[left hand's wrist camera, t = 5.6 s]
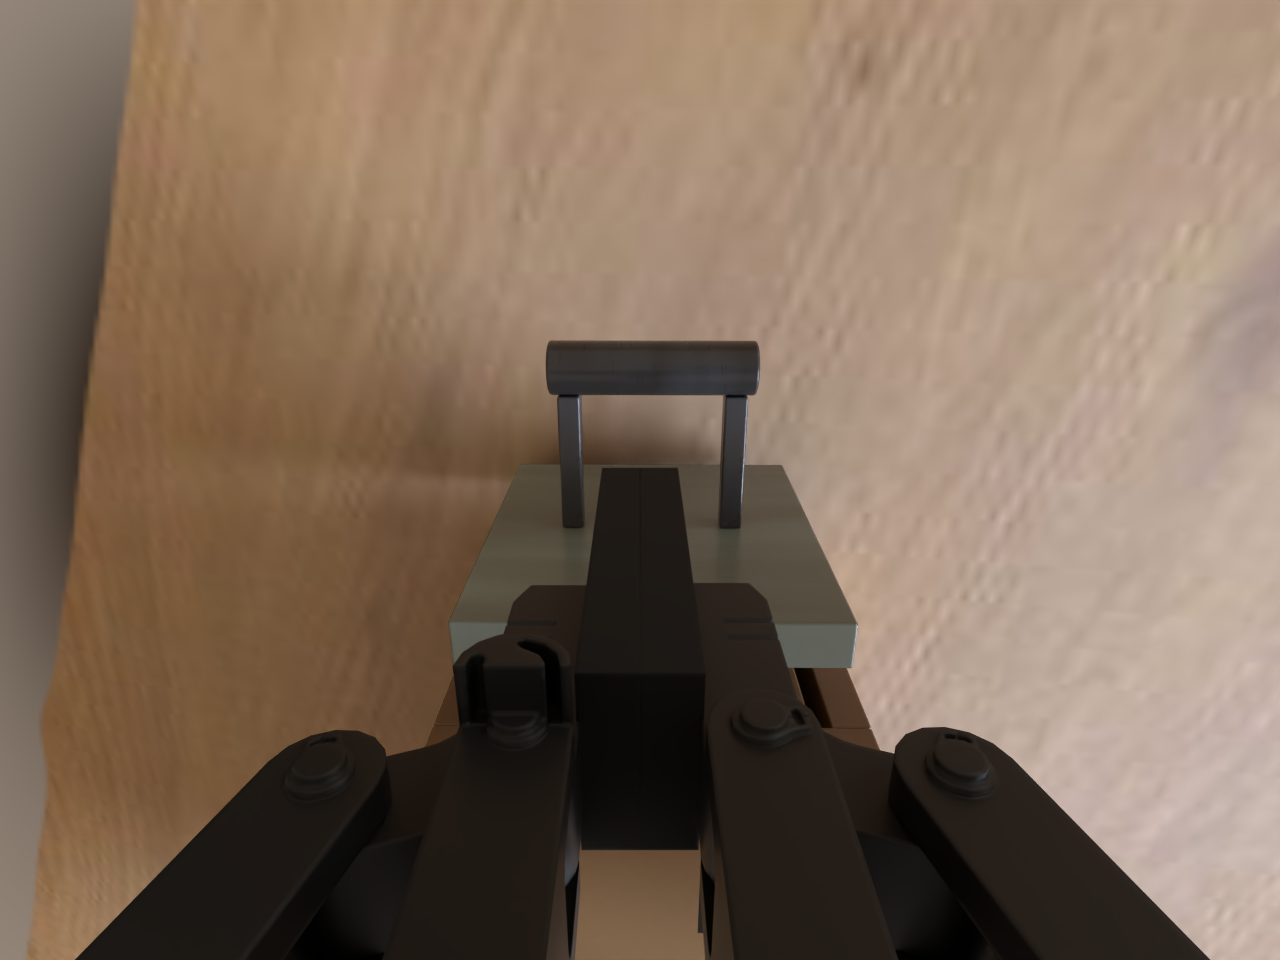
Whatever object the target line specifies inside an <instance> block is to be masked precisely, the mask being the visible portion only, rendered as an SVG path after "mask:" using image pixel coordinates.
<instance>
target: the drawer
mask: <svg viewBox="0 0 1280 960" xmlns="http://www.w3.org/2000/svg"><path fill="white" fill-rule="evenodd" d="M759 377H760V352H759V346H758V343H757V342H756V341H549V342H548V345H547V350H546V380H547V387H548V391H549V393H550V394H552V395H558V398H557V410H558V433H559V455H560V464H521V465H520V466H519V468H518V470H517V472H516V474H515V477H514V479H513V481H512V483H511V485H510V488H509V490H508V492H507V494H506V496H505V499H504V501H503V503H502V505H501V507H500V510H499V512H498V514H497V516H496V518H495V521H494V523H493V525H492V527H491V529H490V532H489V534H488V536H487V538H486V540H485V543H484V545H483V547H482V549H481V551H480V554H479V556H478V558H477V560H476V562H475V565H474V567H473V569H472V571H471V573H470V576H469V578H468V580H467V582H466V584H465V587H464V589H463V591H462V593H461V595H460V598H459V600H458V602H457V604H456V606H455V609H454V611H453V613H452V615H451V617H450V620H449V622H448V624H449V633H450V642H451V650H452V659H453V664H454V663H455V662H456V661H457V659H458V658H459V656H460V655H461V654H462V652H464V651H465V650H467V649H468V648H470V647H471V646H473V645H474V644H476V643H477V642H479V641H482V640H485V639H488V638H491V637H494V636H497V635H501V634H504V630H505V627H506V626H507V621H508V617H509V614H510V611H511V607H512V604H513V602H514V601H515V600H516V599H517V598H518V597H519V596H520V595H521V594H522V593H523V592H524V591H525V590H526V589H528V588H529V587H530V586H531V585H586V583H587V576H588V568H589V561H590V554H591V546H592V539H593V531H594V524H595V516H596V509H597V502H598V494H599V487H600V479H601V472H602V468H678V472H679V479H680V487H681V494H682V502H683V509H684V516H685V524H686V531H687V539H688V546H689V554H690V561H691V568H692V576H693V583H750V584H751V585H752V586H753V587H754V588H755V589H756V590H757V591H758V592H759V593H760V594H761V595H762V596H764V597H765V598H766V599H767V601H768V605H769V608H770V611H771V614H772V618H773V623H774V624H775V627H776V631H777V634H778V640H780V644H781V647H782V650H783V653H784V657H785V660H786V663H787V666H788V670H789V673H790V676H791V680H792V683H793V686H794V689H795V693H796V696H797V699H798V700H799V701H800V702H802V703H803V704H804V705H805V703H804V700H803V697H802V693H801V690H800V687H799V683H798V680H797V677H796V673H795V670H794V668H852V666H853V659H854V651H855V644H856V636H857V628H858V624H857V621H856V619H855V617H854V615H853V613H852V611H851V609H850V607H849V605H848V602H847V600H846V598H845V596H844V594H843V592H842V590H841V588H840V586H839V584H838V581H837V579H836V577H835V575H834V573H833V571H832V569H831V567H830V565H829V563H828V560H827V558H826V556H825V554H824V552H823V550H822V548H821V546H820V544H819V542H818V540H817V537H816V535H815V533H814V531H813V529H812V527H811V525H810V523H809V521H808V519H807V516H806V514H805V512H804V510H803V508H802V506H801V504H800V502H799V500H798V498H797V495H796V493H795V491H794V489H793V487H792V485H791V483H790V481H789V479H788V477H787V475H786V472H785V470H784V468H783V466H782V465H744V463H745V445H746V428H747V410H748V397H747V395H755V394H756V392H757V390H758V385H759ZM581 395H723V414H722V437H721V460H720V465H584V464H583V432H582V400H581Z"/></svg>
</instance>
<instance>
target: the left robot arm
mask: <svg viewBox="0 0 1280 960" xmlns="http://www.w3.org/2000/svg"><path fill="white" fill-rule="evenodd" d="M453 673H454V682H455V690H456V699H457V708H458V716H459V728H458V731H457V733H456V734H455V735H453V736H451V737H449V738H447V739H445V740H443V741H441V742H439V743H437V744H433V745H430V746H427V747H424V748H421V749H416V750H412V751H408V752H404V753H400V754H395V755H391V756H387V757H386V753H385V749H384V748H383V747H382V745H381V744H380V743H379V742H378V741H377V739H376V738H375V737H372V736H370V735H367V734H365V733H362V732H359V731H346V730H334V731H330V732H325V733H321V734H316V735H312V736H309V737H307V738H305V739H303V740H301V741H299V742H296V743H294V744H292V745H290V746H288V747H287V748H285V749H284V750H283V751H281V752H280V753H279V754H278V755H276V756H275V757H274V758H273V759H271V760H270V761H269V762H268V763H267V764H266V765H265V766H264V767H263V768H262V769H261V770H260V771H259V772H258V773H257V774H256V775H255V776H254V777H253V778H252V779H251V780H250V781H249V782H248V783H247V784H246V785H245V786H244V787H243V788H242V789H241V790H240V791H239V792H238V793H237V794H236V795H235V796H234V797H233V799H232V800H231V801H230V802H229V803H228V804H227V805H226V806H225V807H224V808H223V809H222V810H221V811H220V812H219V813H218V814H217V815H216V816H215V817H214V818H213V819H212V820H211V821H210V822H209V823H208V824H207V825H206V826H205V827H204V828H203V829H202V830H201V831H200V832H199V833H198V834H197V835H196V836H195V837H194V838H193V839H192V841H191V842H190V843H189V844H188V845H187V846H186V847H185V848H184V849H183V850H182V851H181V852H180V853H179V854H178V855H177V856H176V857H175V858H174V859H173V860H172V861H171V862H170V863H169V864H168V865H167V866H166V867H165V868H164V869H163V870H162V871H161V872H160V873H159V874H158V875H157V876H156V877H155V878H154V879H153V880H152V881H151V883H150V884H149V885H148V886H147V887H146V888H145V889H144V890H143V891H142V892H141V893H140V894H139V895H138V896H137V897H136V898H135V899H134V900H133V901H132V902H131V903H130V904H129V905H128V906H127V907H126V908H125V909H124V910H123V911H122V912H121V913H120V914H119V915H118V916H117V917H116V918H115V919H114V920H113V921H112V922H111V923H110V925H109V926H108V927H107V928H106V929H105V930H104V931H103V932H102V933H101V934H100V935H99V936H98V937H97V938H96V939H95V940H94V941H93V942H92V943H91V944H90V945H89V946H88V947H87V948H86V949H85V950H84V951H83V952H82V953H81V954H80V955H79V956H78V957H77V958H76V959H75V960H575V951H576V939H577V927H578V914H579V902H580V890H581V888H580V864H579V856H580V845H581V850H699V842H700V853H701V864H700V888H699V912H698V933H703V938H704V950H705V960H1210V959H1209V958H1208V957H1207V956H1206V955H1205V954H1204V953H1203V952H1202V951H1201V950H1200V949H1199V948H1198V947H1197V946H1196V945H1195V944H1194V943H1193V942H1192V941H1191V940H1190V939H1189V938H1188V937H1187V936H1186V935H1185V934H1184V933H1183V932H1182V931H1181V930H1180V929H1179V928H1178V927H1177V926H1176V925H1175V923H1174V922H1173V921H1172V920H1171V919H1170V918H1169V917H1168V916H1167V915H1166V914H1165V913H1164V912H1163V911H1162V910H1161V909H1160V908H1159V907H1158V906H1157V905H1156V904H1155V903H1154V902H1153V901H1152V900H1151V899H1150V898H1149V897H1148V896H1147V895H1146V894H1145V893H1144V892H1143V891H1142V890H1141V889H1140V888H1139V887H1138V886H1137V885H1136V884H1135V883H1134V882H1133V881H1132V880H1131V879H1130V878H1129V877H1128V876H1127V875H1126V874H1125V873H1124V872H1123V871H1122V870H1121V869H1120V868H1119V867H1118V866H1117V864H1116V863H1115V862H1114V861H1113V860H1112V859H1111V858H1110V857H1109V856H1108V855H1107V854H1106V853H1105V852H1104V851H1103V850H1102V849H1101V848H1100V847H1099V846H1098V845H1097V844H1096V843H1095V842H1094V841H1093V840H1092V839H1091V838H1090V837H1089V836H1088V835H1087V834H1086V833H1085V832H1084V831H1083V830H1082V829H1081V828H1080V827H1079V826H1078V825H1077V824H1076V823H1075V822H1074V821H1073V820H1072V819H1071V818H1070V817H1069V816H1068V815H1067V814H1066V813H1065V812H1064V811H1063V810H1062V809H1061V808H1060V807H1059V805H1058V804H1057V803H1056V802H1055V801H1054V800H1053V799H1052V798H1051V797H1050V796H1049V795H1048V794H1047V793H1046V792H1045V791H1044V790H1043V789H1042V788H1041V787H1040V786H1039V785H1038V784H1037V783H1036V782H1035V781H1034V780H1033V779H1032V778H1031V777H1030V776H1029V775H1028V774H1027V773H1026V772H1025V771H1024V770H1023V769H1022V768H1021V767H1020V766H1019V765H1018V764H1017V763H1016V762H1015V761H1014V760H1013V759H1012V758H1011V757H1010V756H1008V755H1007V754H1006V753H1005V752H1003V751H1002V750H1001V749H999V748H998V747H997V746H996V745H994V744H993V743H991V742H989V741H987V740H984V739H982V738H980V737H978V736H976V735H974V734H971V733H969V732H965V731H960V730H956V729H951V728H947V727H932V728H921V729H918V730H916V731H913V732H910V733H908V734H905V736H904V737H903V738H902V739H901V740H900V742H899V743H898V744H897V745H896V747H895V753H894V754H893V753H889V752H885V751H880V750H876V749H872V748H868V747H863V746H859V745H856V744H853V743H850V742H847V741H843V740H841V739H839V738H837V737H835V736H833V735H831V734H829V733H827V732H825V731H824V730H822V727H821V724H820V723H819V721H818V720H817V718H816V716H815V715H814V713H813V712H812V710H811V709H810V708H808V707H807V706H806V705H804V704H803V703H802V702H800V701H799V700H798V699H797V696H796V693H795V689H794V686H793V683H792V680H791V676H790V673H789V670H788V666H787V663H786V660H785V657H784V653H783V650H782V647H781V644H780V640H778V634H777V631H776V627H775V624H774V623H773V618H772V614H771V611H770V608H769V605H768V601H767V599H766V598H765V597H764V596H762V595H761V594H760V593H759V592H758V591H757V590H756V589H755V588H754V587H753V586H752V585H751V584H750V583H693V576H692V568H691V561H690V554H689V546H688V539H687V531H686V524H685V516H684V509H683V502H682V494H681V487H680V479H679V472H678V468H602V472H601V479H600V487H599V494H598V502H597V509H596V516H595V524H594V531H593V539H592V546H591V554H590V561H589V568H588V576H587V583H586V585H531V586H530V587H529V588H528V589H526V590H525V591H524V592H523V593H522V594H521V595H520V596H519V597H518V598H517V599H516V600H515V601H514V602H513V604H512V607H511V611H510V614H509V617H508V621H507V626H506V627H505V630H504V634H501V635H497V636H494V637H491V638H488V639H485V640H482V641H479V642H477V643H476V644H474V645H473V646H471V647H470V648H468V649H467V650H465V651H464V652H462V654H461V655H460V656H459V658H458V659H457V661H456V662H455V663H454V665H453Z"/></svg>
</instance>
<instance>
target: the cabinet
mask: <svg viewBox="0 0 1280 960" xmlns="http://www.w3.org/2000/svg"><path fill="white" fill-rule="evenodd" d="M794 670H795V673H796V677H797V680H798V683H799V687H800V690H801V693H802V697H803V700H804V703H805V705H806V706H807V707H808V708H810V709H811V710H812V712H813V713H814V715H815V716H816V718H817V720H818V721H819V723H820V724H821V727H822V730H824V731H825V732H827V733H829V734H831V735H833V736H835V737H837V738H839V739H841V740H843V741H847V742H850V743H853V744H856V745H859V746H863V747H868V748H872V749H876V750H880V749H879V747H878V744H877V742H876V739H875V737H874V734H873V732H872V730H871V727H870V724H869V722H868V719H867V717H866V714H865V712H864V709H863V707H862V705H861V702H860V700H859V697H858V695H857V692H856V690H855V688H854V685H853V683H852V680H851V678H850V675H849V673H848V670H847V668H794ZM458 728H459V716H458V708H457V699H456V690H455V682H454V676H453V678H452V681H451V683H450V686H449V688H448V691H447V693H446V696H445V699H444V701H443V704H442V706H441V709H440V711H439V714H438V716H437V719H436V721H435V724H434V727H433V729H432V731H431V734H430V737H429V739H428V742H427V744H426V747H427V746H430V745H433V744H437V743H439V742H441V741H443V740H445V739H447V738H449V737H451V736H453V735H455V734H456V733H457V731H458ZM579 864H580V888H581V890H580V902H579V914H578V927H577V939H576V951H575V960H705V950H704V938H703V933H698V912H699V888H700V864H701V853H700V842H699V850H581V845H580V856H579Z"/></svg>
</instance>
